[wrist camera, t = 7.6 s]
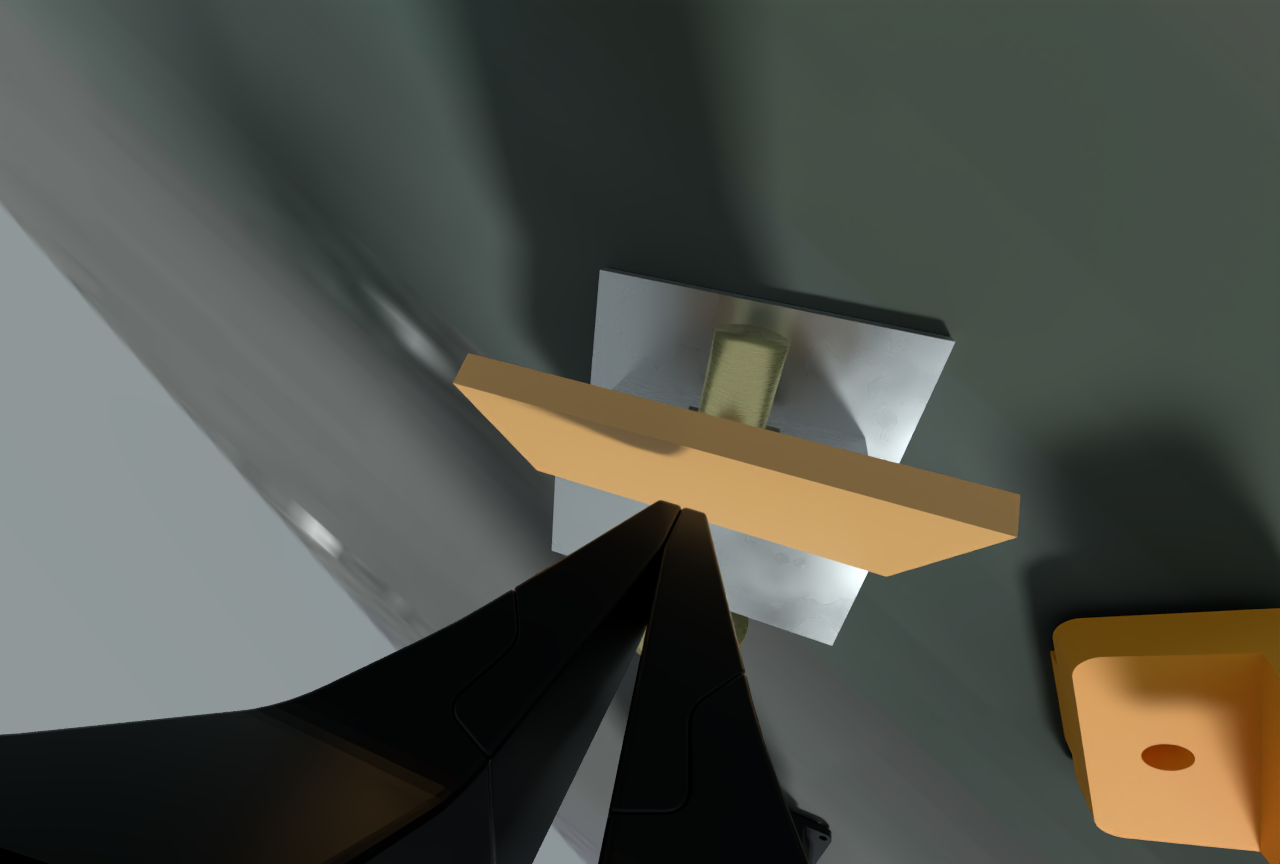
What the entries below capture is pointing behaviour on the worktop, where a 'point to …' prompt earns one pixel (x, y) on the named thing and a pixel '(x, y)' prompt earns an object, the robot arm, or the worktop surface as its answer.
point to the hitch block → (802, 407)
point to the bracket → (1176, 725)
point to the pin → (742, 388)
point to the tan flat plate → (739, 472)
